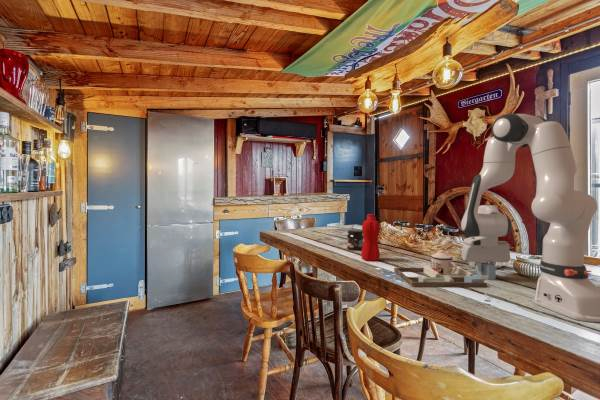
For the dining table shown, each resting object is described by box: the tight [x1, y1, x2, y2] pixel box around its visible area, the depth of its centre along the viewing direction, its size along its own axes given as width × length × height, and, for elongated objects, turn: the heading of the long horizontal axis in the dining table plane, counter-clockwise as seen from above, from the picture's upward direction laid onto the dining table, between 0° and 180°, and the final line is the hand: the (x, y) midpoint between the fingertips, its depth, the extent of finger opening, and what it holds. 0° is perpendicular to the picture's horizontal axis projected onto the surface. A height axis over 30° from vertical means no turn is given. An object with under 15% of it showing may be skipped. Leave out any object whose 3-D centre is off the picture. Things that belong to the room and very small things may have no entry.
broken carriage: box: [417, 274, 485, 282], centre depth 131 cm, size 6×25×3 cm, turn 90°
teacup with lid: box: [430, 249, 458, 276], centre depth 141 cm, size 12×9×12 cm
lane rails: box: [393, 267, 488, 288], centre depth 139 cm, size 24×30×2 cm
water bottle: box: [360, 213, 383, 262], centre depth 173 cm, size 9×11×25 cm
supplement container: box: [346, 229, 364, 251], centre depth 203 cm, size 10×10×12 cm
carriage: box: [422, 262, 497, 281], centre depth 142 cm, size 14×27×6 cm, turn 90°
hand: (485, 271), depth 142 cm, fingers closed on carriage, 3 cm apart
